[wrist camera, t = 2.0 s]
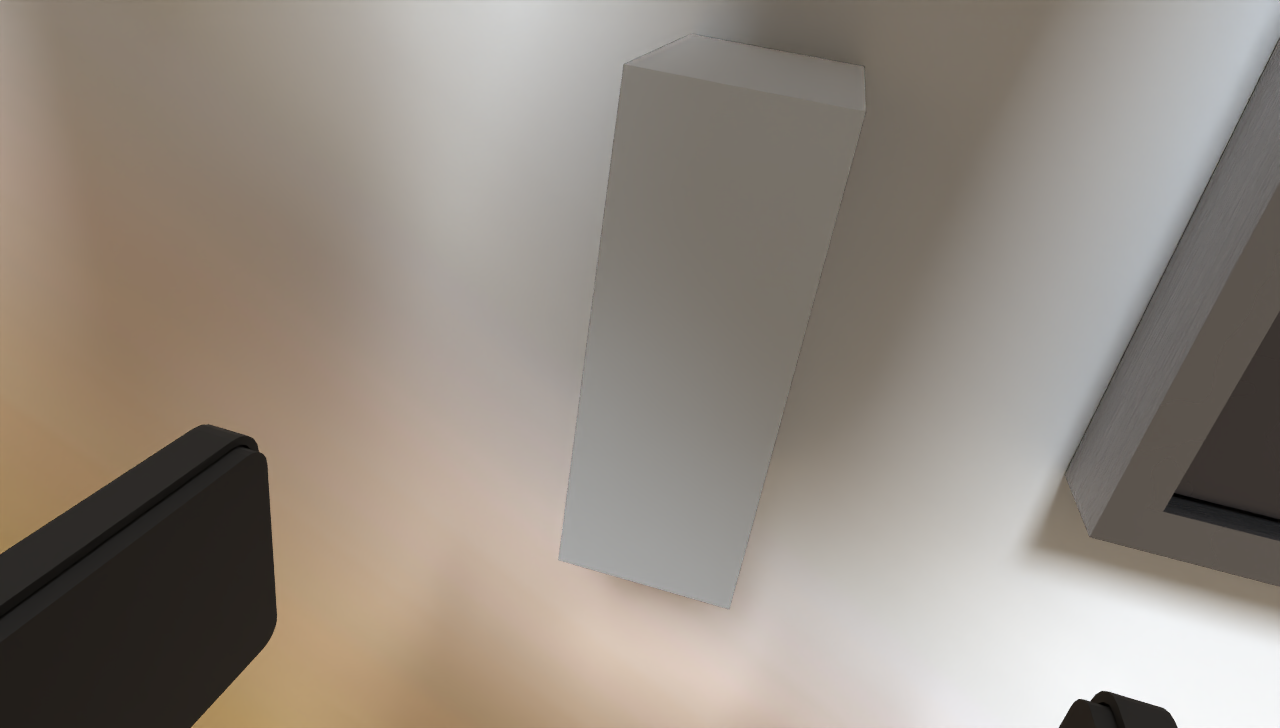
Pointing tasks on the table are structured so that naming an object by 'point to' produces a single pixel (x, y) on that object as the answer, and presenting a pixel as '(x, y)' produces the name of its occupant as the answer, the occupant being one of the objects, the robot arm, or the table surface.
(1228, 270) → the rack
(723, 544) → the rectangular block
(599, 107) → the table surface
